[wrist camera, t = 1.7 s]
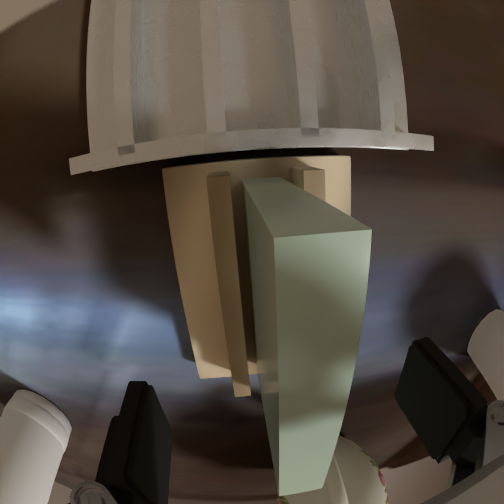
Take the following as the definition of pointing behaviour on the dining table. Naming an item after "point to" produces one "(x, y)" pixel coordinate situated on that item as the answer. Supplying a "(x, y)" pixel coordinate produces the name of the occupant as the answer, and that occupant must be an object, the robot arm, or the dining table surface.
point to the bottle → (30, 448)
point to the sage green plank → (303, 321)
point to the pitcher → (346, 480)
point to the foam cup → (490, 351)
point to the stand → (231, 249)
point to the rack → (241, 78)
